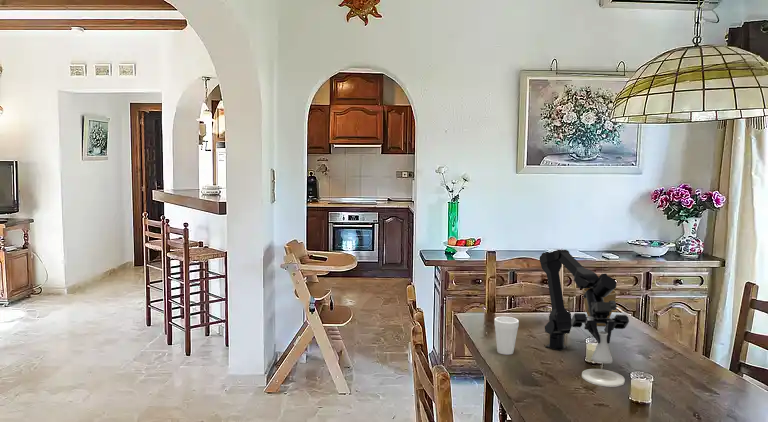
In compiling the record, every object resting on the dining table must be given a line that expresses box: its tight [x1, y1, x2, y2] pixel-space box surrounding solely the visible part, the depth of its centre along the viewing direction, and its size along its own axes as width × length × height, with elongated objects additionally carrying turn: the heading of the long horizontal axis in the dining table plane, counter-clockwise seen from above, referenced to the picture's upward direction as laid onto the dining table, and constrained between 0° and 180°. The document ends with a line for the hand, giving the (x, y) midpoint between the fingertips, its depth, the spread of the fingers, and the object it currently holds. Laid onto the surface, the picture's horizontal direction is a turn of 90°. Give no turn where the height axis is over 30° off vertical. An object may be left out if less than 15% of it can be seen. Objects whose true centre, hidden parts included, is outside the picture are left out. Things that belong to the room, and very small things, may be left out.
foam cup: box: [493, 316, 520, 356], centre depth 225 cm, size 10×9×13 cm
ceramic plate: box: [581, 368, 626, 388], centre depth 199 cm, size 14×14×1 cm
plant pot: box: [582, 288, 618, 327], centre depth 267 cm, size 15×15×16 cm
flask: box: [590, 330, 614, 364], centre depth 198 cm, size 7×7×10 cm
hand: (604, 342), depth 197 cm, fingers closed on flask, 3 cm apart
